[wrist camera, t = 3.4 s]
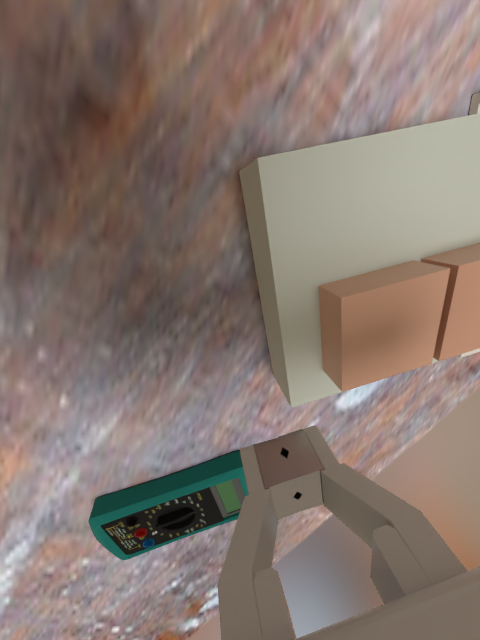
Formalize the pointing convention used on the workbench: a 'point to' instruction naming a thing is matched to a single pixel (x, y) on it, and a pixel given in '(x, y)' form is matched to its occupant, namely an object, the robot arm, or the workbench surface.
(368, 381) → the tile
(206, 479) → the digital multimeter
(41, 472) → the workbench surface
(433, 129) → the board
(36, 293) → the workbench surface
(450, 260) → the tile
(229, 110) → the workbench surface
